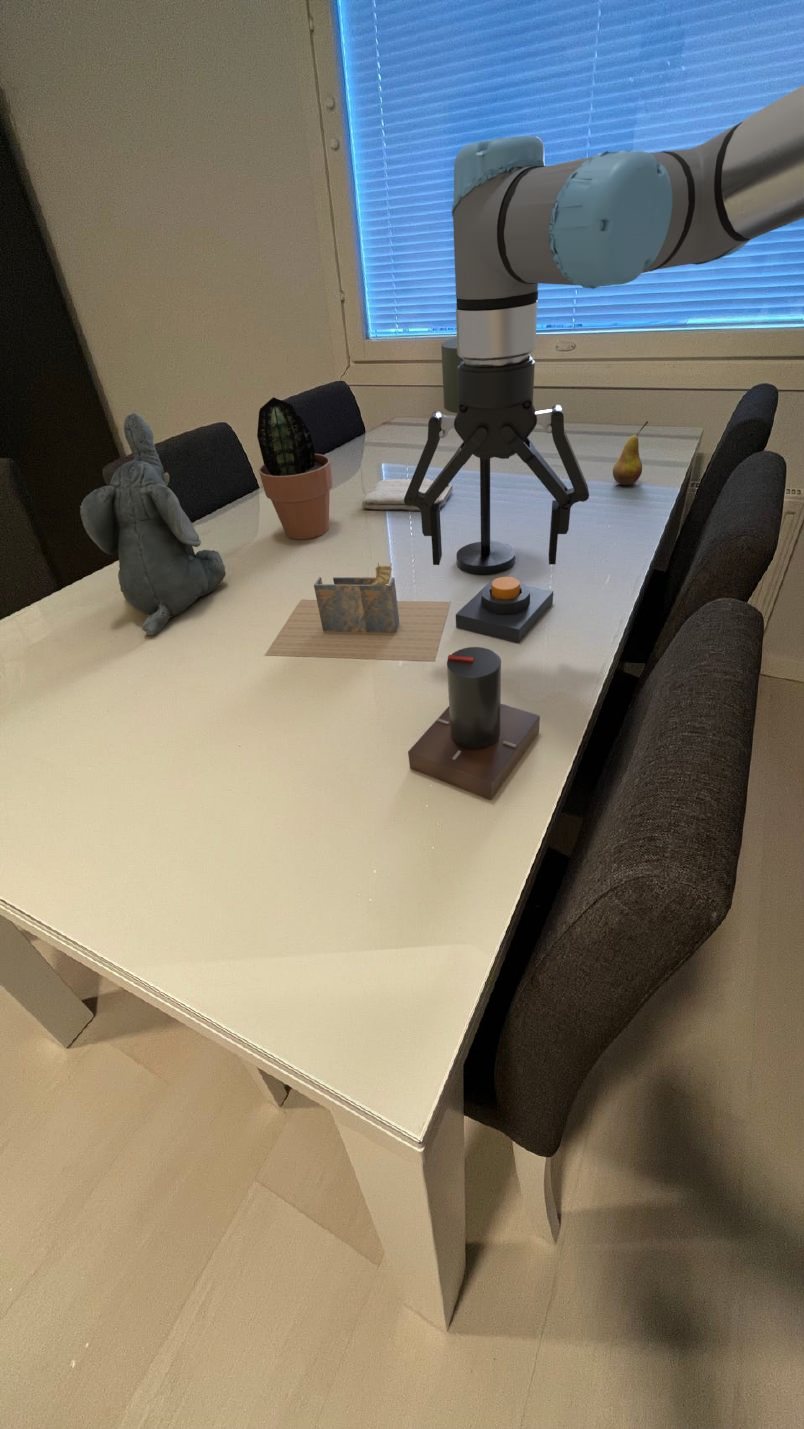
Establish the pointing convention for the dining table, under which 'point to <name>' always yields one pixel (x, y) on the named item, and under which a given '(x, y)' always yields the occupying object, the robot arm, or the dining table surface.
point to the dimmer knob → (474, 696)
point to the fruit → (629, 462)
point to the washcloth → (398, 495)
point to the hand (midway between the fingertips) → (493, 560)
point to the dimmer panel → (475, 753)
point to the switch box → (504, 612)
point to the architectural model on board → (362, 622)
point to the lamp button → (505, 588)
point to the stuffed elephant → (150, 534)
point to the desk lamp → (485, 553)
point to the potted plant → (293, 471)
